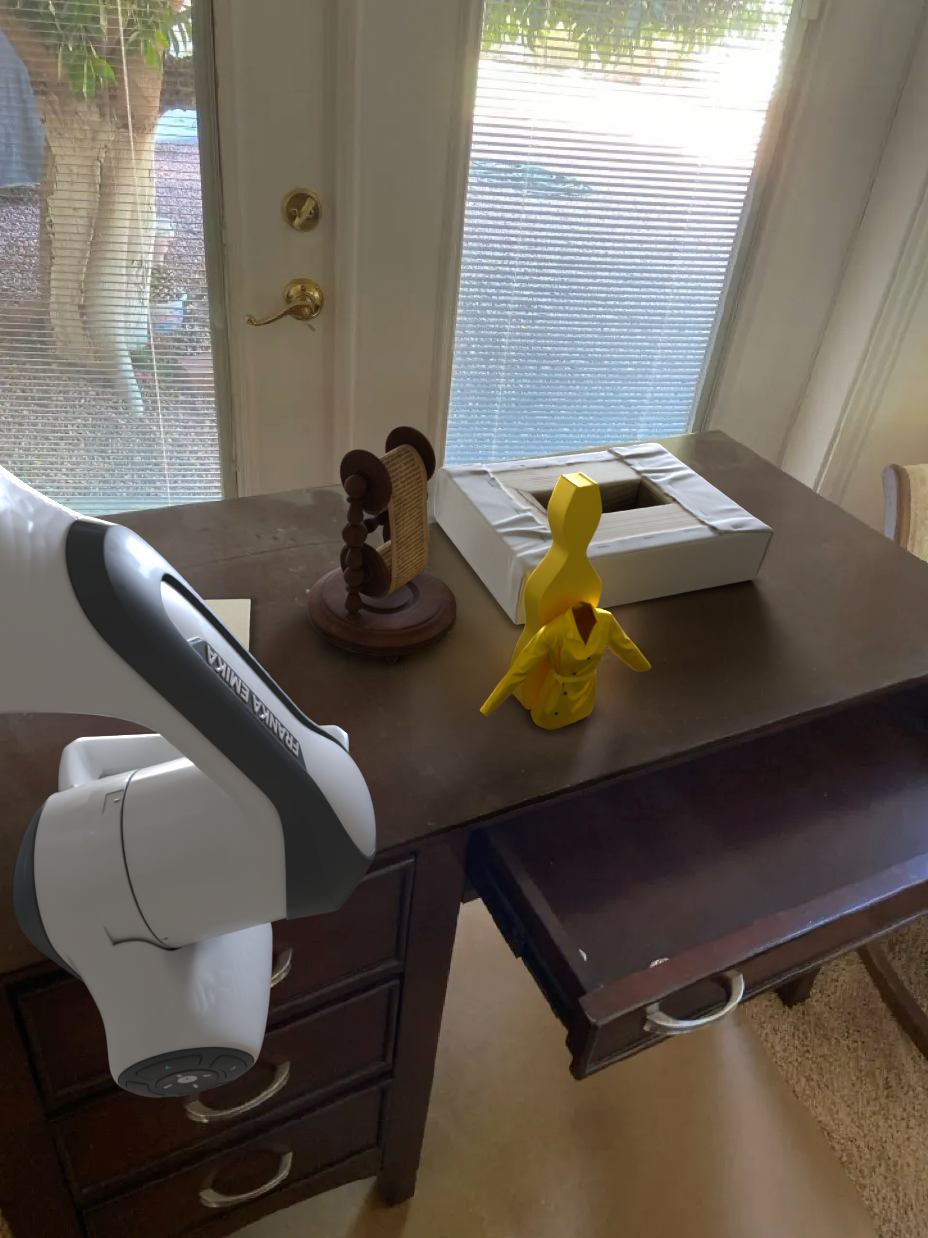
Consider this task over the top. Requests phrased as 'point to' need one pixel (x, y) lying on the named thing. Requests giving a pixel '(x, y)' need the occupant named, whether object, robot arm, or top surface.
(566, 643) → the yellow coat with case
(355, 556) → the scroll
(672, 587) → the box
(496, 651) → the top surface
